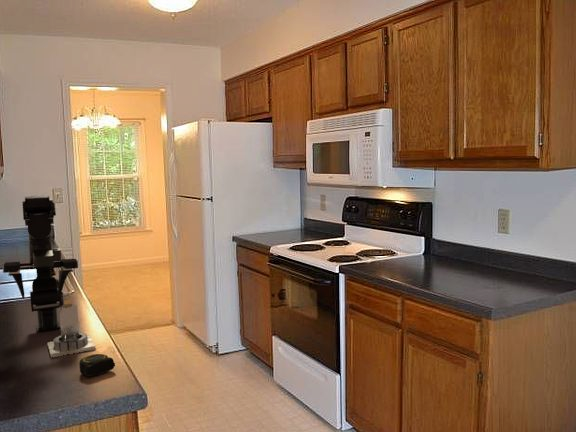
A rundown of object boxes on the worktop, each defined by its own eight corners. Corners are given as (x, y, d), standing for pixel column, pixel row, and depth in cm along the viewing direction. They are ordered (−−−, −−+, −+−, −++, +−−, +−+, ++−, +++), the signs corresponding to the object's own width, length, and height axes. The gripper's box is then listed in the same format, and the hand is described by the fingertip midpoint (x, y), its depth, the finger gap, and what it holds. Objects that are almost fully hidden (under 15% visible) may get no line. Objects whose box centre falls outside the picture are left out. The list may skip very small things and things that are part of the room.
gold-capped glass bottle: (61, 343, 149) (57, 298, 148) (78, 340, 151) (75, 296, 150) (62, 347, 145) (59, 302, 144) (80, 344, 147) (77, 299, 146)
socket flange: (47, 345, 151) (46, 336, 150) (89, 338, 156) (88, 328, 155) (51, 357, 141) (50, 347, 141) (95, 349, 146) (94, 339, 146)
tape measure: (88, 381, 125) (86, 365, 125) (75, 374, 130) (74, 358, 129) (115, 372, 130) (114, 357, 129) (102, 365, 135) (101, 350, 134)
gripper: (4, 241, 141) (5, 301, 140) (80, 238, 151) (82, 295, 150) (1, 242, 151) (3, 299, 150) (73, 239, 160) (75, 293, 159)
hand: (41, 296), depth 152 cm, fingers open, 9 cm apart
